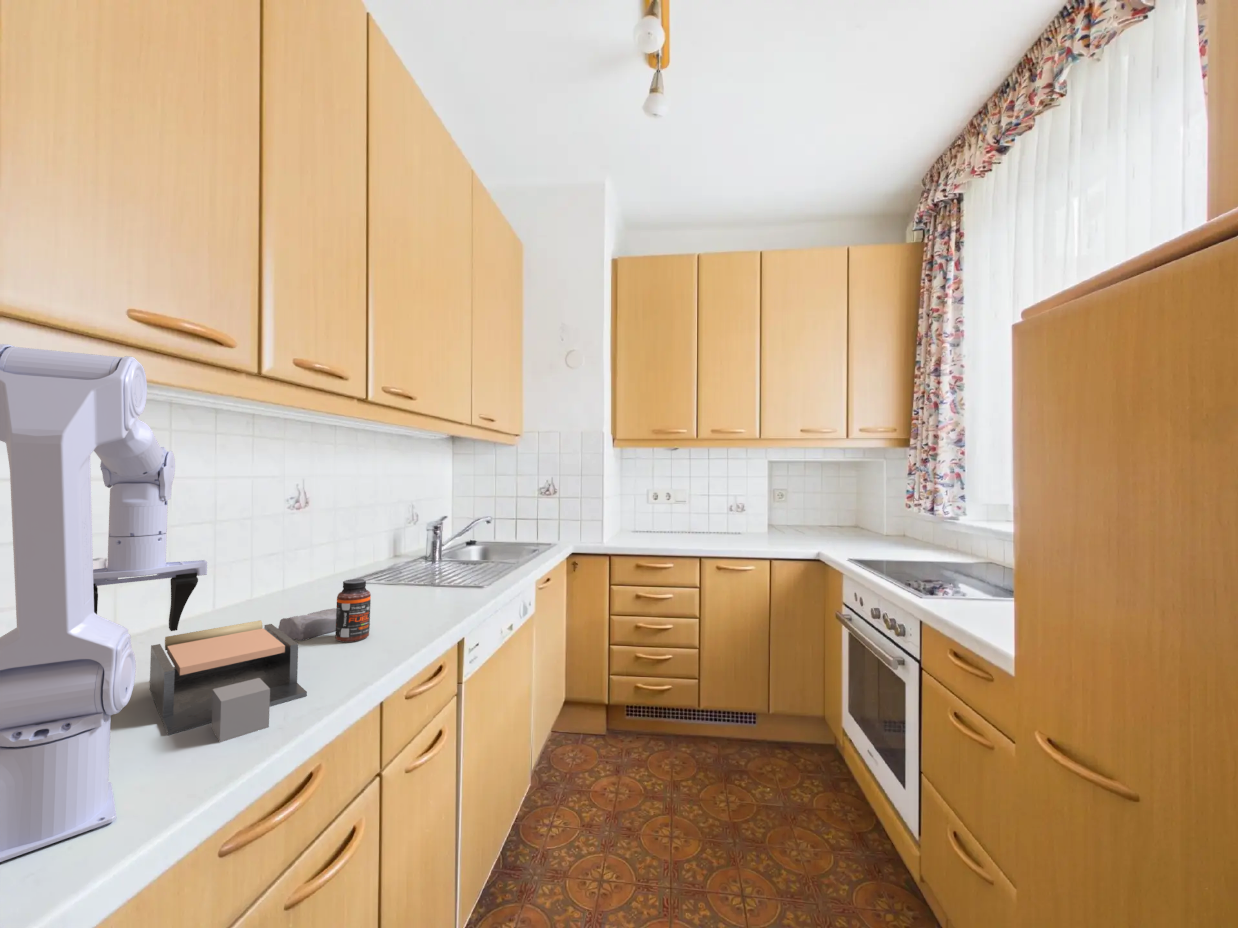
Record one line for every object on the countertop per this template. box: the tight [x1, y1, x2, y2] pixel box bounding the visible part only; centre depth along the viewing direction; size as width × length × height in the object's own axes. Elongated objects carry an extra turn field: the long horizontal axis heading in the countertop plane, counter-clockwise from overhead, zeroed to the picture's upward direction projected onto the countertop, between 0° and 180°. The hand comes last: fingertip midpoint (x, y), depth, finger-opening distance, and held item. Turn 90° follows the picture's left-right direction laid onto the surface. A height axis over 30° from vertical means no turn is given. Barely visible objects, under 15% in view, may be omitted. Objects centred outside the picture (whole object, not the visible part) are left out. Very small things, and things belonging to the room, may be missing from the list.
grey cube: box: [210, 678, 271, 743], centre depth 64 cm, size 5×5×5 cm
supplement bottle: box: [335, 578, 372, 643], centre depth 99 cm, size 6×6×11 cm
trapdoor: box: [164, 620, 285, 675], centre depth 76 cm, size 12×15×2 cm
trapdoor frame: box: [149, 623, 308, 736], centre depth 74 cm, size 15×19×6 cm
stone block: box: [277, 607, 337, 642], centre depth 104 cm, size 12×5×10 cm
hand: (135, 635), depth 68 cm, fingers open, 7 cm apart
